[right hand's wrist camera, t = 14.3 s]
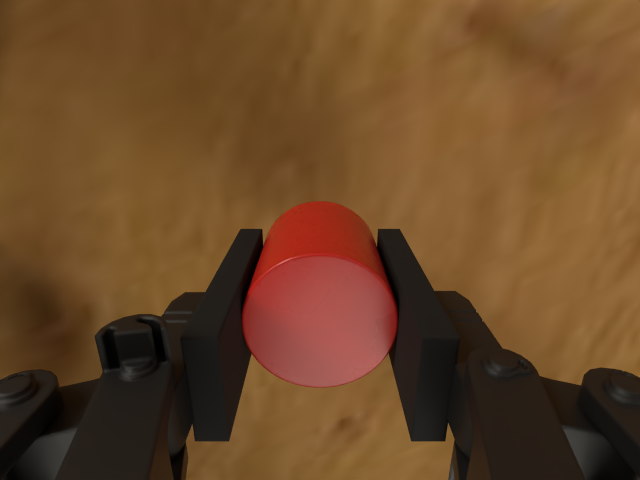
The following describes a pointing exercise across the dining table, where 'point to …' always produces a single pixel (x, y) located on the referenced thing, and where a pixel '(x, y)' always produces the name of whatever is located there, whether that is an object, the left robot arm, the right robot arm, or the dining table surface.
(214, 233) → the dining table surface
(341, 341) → the tin
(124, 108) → the dining table surface
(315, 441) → the dining table surface
